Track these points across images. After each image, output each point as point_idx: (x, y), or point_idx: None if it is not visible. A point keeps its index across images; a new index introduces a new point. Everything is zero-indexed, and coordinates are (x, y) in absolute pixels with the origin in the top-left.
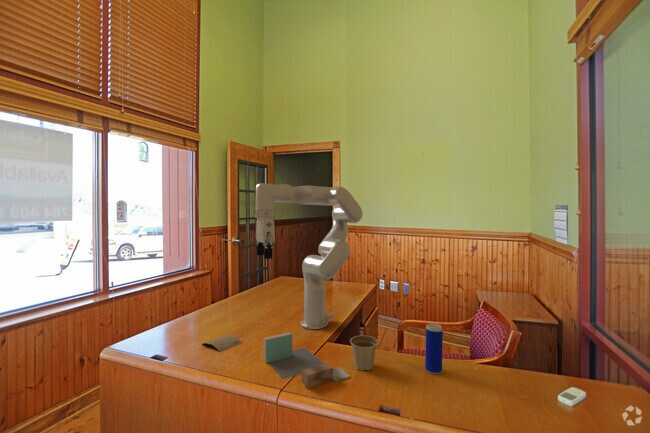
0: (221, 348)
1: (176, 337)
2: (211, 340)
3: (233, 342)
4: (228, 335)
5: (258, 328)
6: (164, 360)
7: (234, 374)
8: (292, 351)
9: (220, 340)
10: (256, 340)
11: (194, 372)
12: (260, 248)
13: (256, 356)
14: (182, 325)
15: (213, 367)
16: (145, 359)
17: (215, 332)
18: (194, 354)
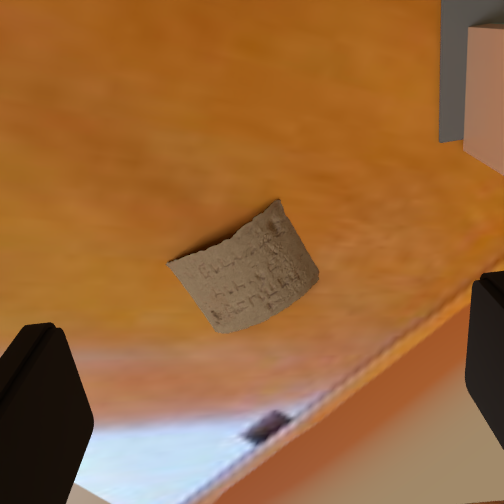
0: (303, 281)
1: (125, 400)
2: (224, 311)
3: (271, 240)
4: (210, 256)
5: (114, 106)
6: (293, 416)
7: (487, 251)
8: (454, 8)
9: (253, 287)
10: (256, 141)
11: (409, 348)
12: (31, 480)
13: (404, 166)
14: None
15: (407, 303)
16: (265, 453)
17: (113, 287)
18: (288, 350)
